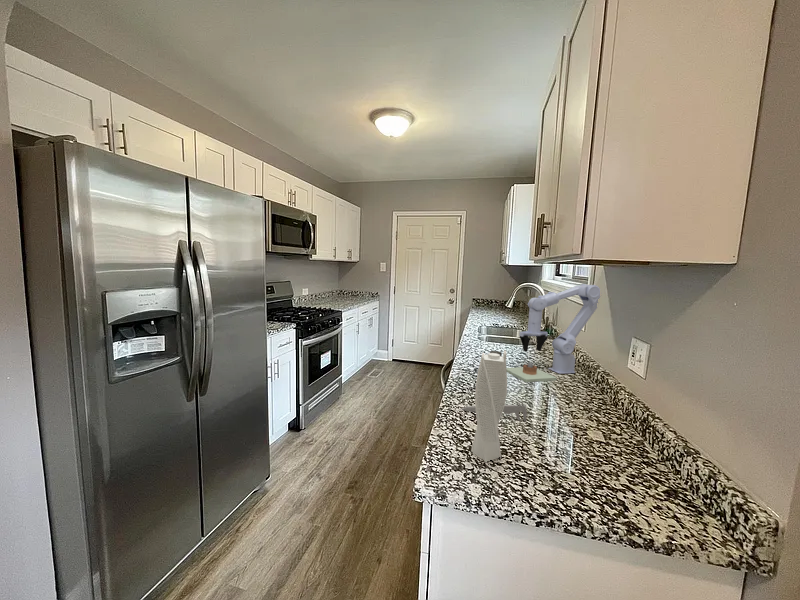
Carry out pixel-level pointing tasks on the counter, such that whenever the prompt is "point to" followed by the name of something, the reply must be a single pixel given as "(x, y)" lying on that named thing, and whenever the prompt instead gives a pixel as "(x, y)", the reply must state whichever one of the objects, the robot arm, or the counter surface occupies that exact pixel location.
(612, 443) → the counter surface
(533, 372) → the collar
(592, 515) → the counter surface
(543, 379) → the post board
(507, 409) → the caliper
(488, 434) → the skyscraper
